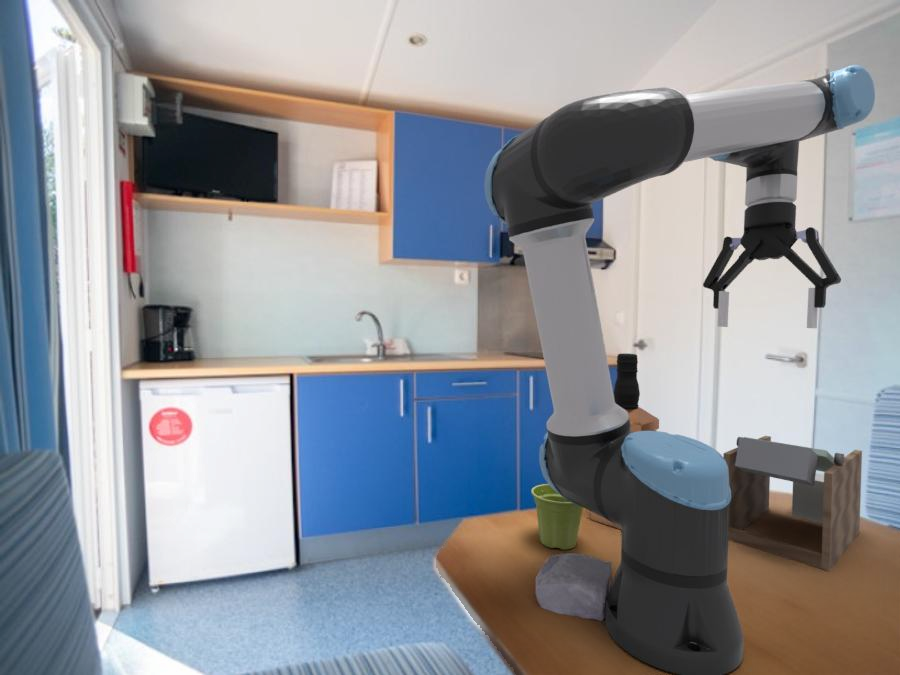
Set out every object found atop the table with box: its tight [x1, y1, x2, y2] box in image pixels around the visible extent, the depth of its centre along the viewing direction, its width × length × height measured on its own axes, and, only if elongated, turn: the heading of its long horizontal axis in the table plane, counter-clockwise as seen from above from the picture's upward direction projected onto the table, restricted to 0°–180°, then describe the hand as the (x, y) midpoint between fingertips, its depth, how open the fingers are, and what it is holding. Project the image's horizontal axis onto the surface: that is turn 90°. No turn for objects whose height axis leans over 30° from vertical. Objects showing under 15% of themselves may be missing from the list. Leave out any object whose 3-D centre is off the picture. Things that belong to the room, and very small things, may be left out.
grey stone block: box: [791, 472, 824, 525], centre depth 96 cm, size 6×6×8 cm
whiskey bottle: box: [588, 353, 660, 531], centre depth 94 cm, size 10×10×32 cm
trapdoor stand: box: [722, 435, 863, 572], centre depth 88 cm, size 22×15×17 cm
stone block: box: [535, 552, 613, 622], centre depth 68 cm, size 12×5×10 cm
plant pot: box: [531, 483, 583, 551], centre depth 84 cm, size 9×9×9 cm
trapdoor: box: [735, 436, 835, 486], centre depth 86 cm, size 22×12×6 cm, turn 130°
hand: (764, 327), depth 85 cm, fingers open, 13 cm apart
